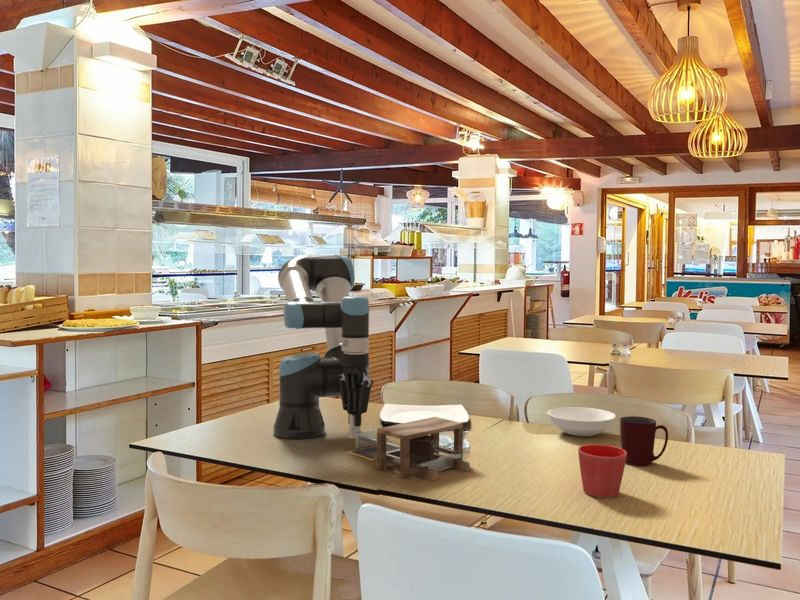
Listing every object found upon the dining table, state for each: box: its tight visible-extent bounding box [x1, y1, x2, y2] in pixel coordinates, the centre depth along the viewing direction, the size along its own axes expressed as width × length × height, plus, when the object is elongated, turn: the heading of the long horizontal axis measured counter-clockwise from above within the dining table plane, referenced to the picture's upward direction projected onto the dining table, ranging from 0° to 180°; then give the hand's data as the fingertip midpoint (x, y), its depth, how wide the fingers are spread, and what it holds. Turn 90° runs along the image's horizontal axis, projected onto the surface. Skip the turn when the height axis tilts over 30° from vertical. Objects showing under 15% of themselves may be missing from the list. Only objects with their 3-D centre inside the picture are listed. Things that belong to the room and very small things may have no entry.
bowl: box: [547, 406, 617, 437], centre depth 225 cm, size 20×20×6 cm
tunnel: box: [373, 417, 471, 482], centre depth 190 cm, size 22×20×10 cm
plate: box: [379, 403, 470, 426], centre depth 243 cm, size 29×29×3 cm
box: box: [410, 435, 434, 463], centre depth 190 cm, size 6×6×7 cm
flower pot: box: [577, 444, 627, 499], centre depth 170 cm, size 11×11×10 cm
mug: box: [619, 415, 669, 467], centre depth 194 cm, size 12×9×11 cm
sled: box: [355, 428, 464, 472], centre depth 196 cm, size 29×16×5 cm, turn 43°
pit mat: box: [347, 445, 393, 462], centre depth 202 cm, size 10×12×1 cm
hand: (354, 437), depth 209 cm, fingers closed
